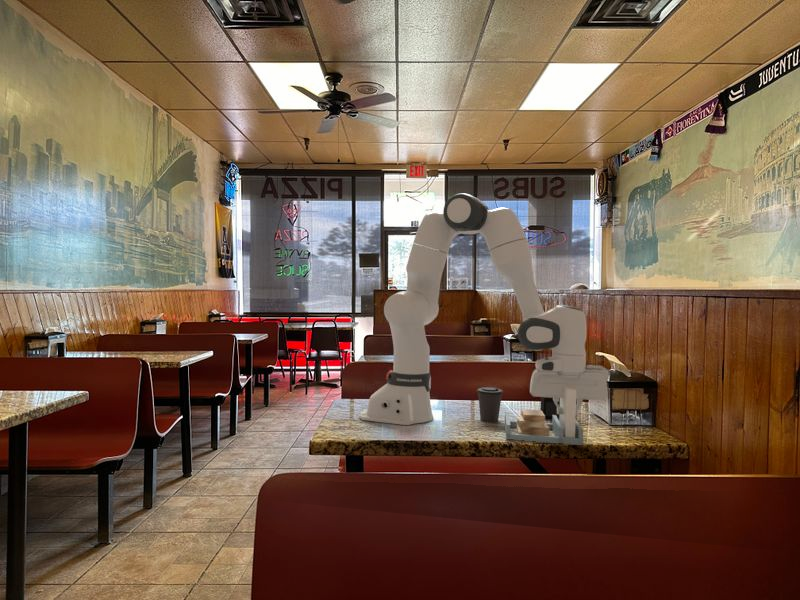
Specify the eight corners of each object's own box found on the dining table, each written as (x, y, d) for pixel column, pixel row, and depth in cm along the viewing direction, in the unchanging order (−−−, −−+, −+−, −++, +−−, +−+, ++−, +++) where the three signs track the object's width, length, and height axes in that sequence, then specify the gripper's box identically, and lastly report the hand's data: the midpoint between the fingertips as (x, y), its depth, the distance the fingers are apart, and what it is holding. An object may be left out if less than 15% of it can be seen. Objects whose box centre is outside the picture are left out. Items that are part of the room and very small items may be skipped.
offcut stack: (518, 437, 138) (518, 415, 138) (516, 428, 148) (516, 407, 148) (549, 440, 136) (550, 417, 136) (545, 430, 146) (546, 409, 146)
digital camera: (543, 420, 158) (544, 398, 158) (539, 416, 164) (540, 394, 164) (577, 421, 158) (578, 399, 158) (572, 417, 163) (573, 395, 163)
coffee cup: (502, 424, 152) (503, 390, 152) (475, 422, 154) (476, 389, 154) (502, 418, 160) (503, 386, 160) (476, 416, 162) (477, 384, 162)
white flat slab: (565, 442, 135) (566, 389, 135) (559, 430, 147) (560, 381, 146) (574, 443, 134) (576, 390, 134) (568, 431, 146) (569, 382, 146)
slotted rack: (506, 439, 136) (506, 424, 136) (504, 425, 151) (505, 412, 151) (582, 445, 132) (583, 429, 132) (573, 430, 147) (574, 416, 147)
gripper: (605, 364, 141) (604, 414, 142) (530, 360, 145) (528, 409, 145) (611, 367, 135) (609, 419, 135) (531, 363, 139) (530, 414, 139)
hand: (567, 414), depth 140 cm, fingers closed on white flat slab, 2 cm apart
